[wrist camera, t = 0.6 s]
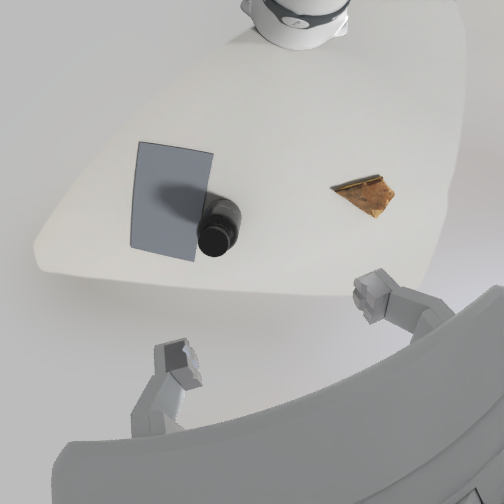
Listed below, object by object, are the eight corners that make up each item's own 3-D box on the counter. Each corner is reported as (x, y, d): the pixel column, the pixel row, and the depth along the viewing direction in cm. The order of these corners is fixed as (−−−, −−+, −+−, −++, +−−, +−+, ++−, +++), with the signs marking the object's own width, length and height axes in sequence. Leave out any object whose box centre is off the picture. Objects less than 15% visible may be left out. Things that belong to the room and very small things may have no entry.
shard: (332, 189, 49) (334, 191, 47) (354, 155, 46) (357, 157, 44) (373, 217, 51) (377, 221, 50) (394, 187, 48) (398, 189, 47)
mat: (140, 142, 45) (139, 142, 44) (213, 154, 46) (213, 154, 46) (131, 246, 55) (131, 247, 54) (194, 261, 56) (193, 262, 56)
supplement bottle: (238, 195, 50) (232, 218, 39) (244, 229, 53) (240, 260, 42) (201, 201, 50) (186, 226, 40) (209, 234, 53) (197, 266, 43)
